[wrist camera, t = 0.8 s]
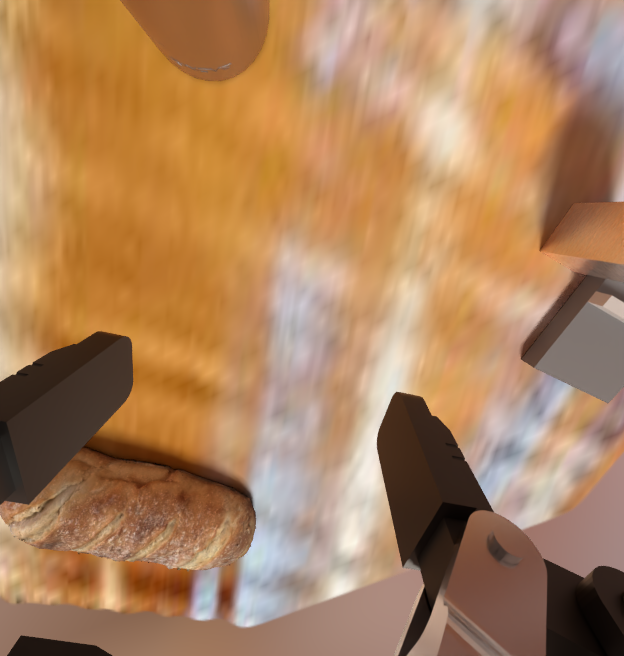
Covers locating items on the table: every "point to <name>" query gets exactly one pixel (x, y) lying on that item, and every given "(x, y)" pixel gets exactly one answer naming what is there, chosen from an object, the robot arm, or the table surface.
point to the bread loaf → (136, 514)
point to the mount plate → (586, 340)
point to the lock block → (590, 240)
